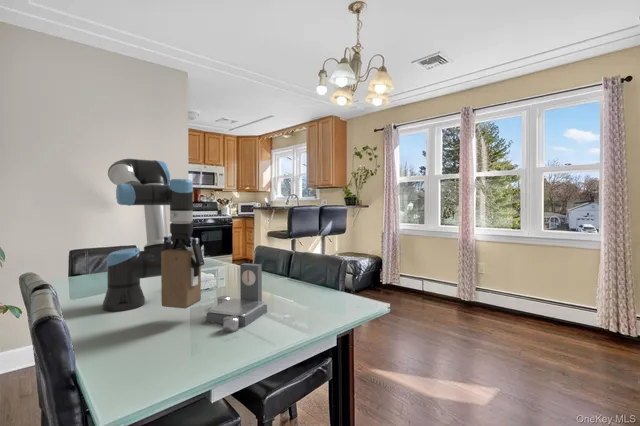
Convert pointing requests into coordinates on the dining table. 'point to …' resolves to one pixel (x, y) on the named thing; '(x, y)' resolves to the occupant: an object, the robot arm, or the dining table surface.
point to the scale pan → (237, 307)
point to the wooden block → (178, 279)
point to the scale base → (246, 294)
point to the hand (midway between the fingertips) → (181, 283)
